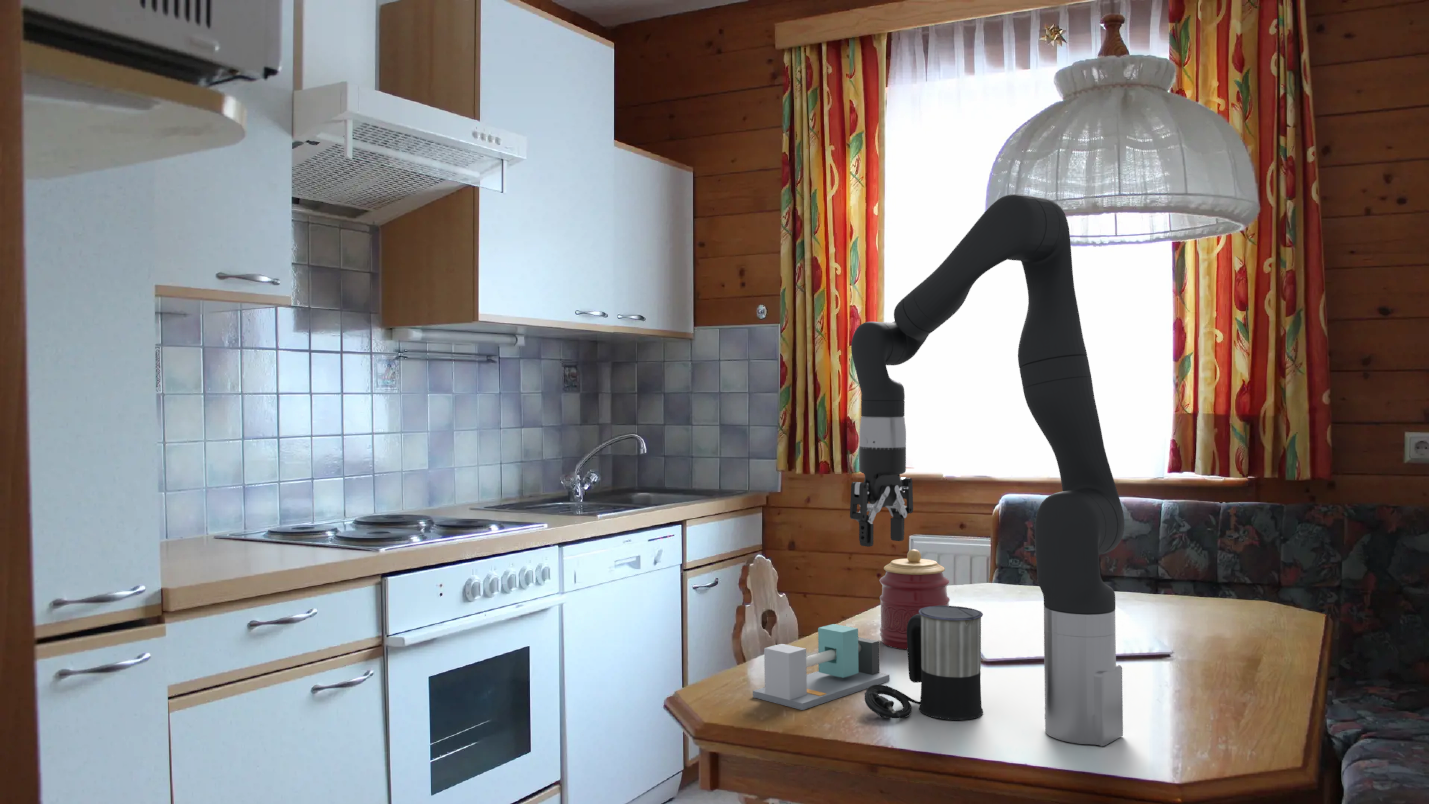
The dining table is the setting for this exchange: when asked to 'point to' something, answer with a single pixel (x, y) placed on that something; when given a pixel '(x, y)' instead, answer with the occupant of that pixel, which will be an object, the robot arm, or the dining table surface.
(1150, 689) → the dining table surface
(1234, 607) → the dining table surface
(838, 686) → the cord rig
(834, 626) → the sleeve
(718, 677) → the dining table surface
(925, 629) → the milk frother
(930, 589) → the canister
